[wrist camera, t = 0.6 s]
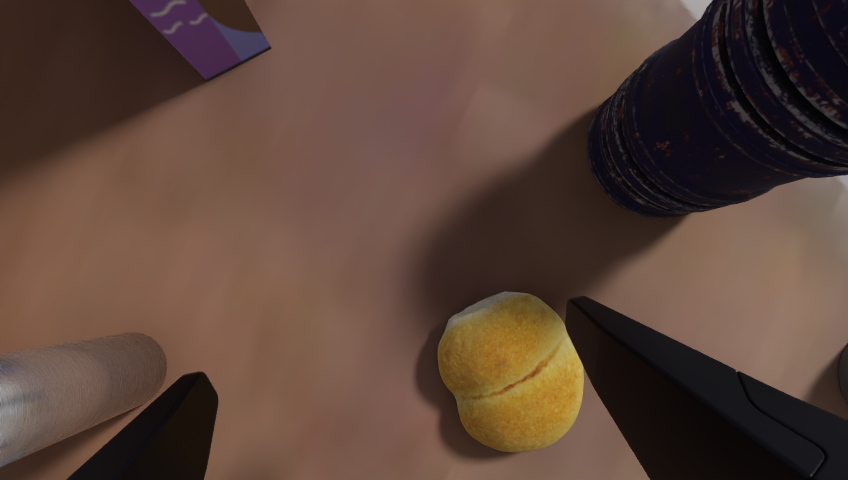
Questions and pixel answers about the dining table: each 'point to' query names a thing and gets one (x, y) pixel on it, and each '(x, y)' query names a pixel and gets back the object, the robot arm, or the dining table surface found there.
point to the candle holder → (844, 373)
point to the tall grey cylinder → (73, 388)
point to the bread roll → (512, 372)
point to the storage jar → (728, 109)
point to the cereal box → (207, 32)
